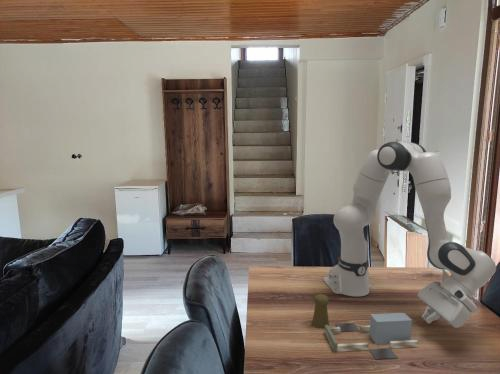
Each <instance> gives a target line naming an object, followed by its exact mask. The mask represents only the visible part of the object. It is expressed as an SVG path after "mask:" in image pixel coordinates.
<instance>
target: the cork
mask: <svg viewBox="0 0 500 374" xmlns="http://www.w3.org/2000/svg"><path fill="white" fill-rule="evenodd" d="M329 301H330V300H329V297H328V295H325V294H324V293H323V294H322V293H320V294H316V295H314V297H313V302H314V310H313V316H312V321H311V322H312V323H311V325H312V326H313V327H314V328H317V329H325V325H328V326H329V327H330V322H329V321H330V320H329V313H328V305H329Z"/></svg>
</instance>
